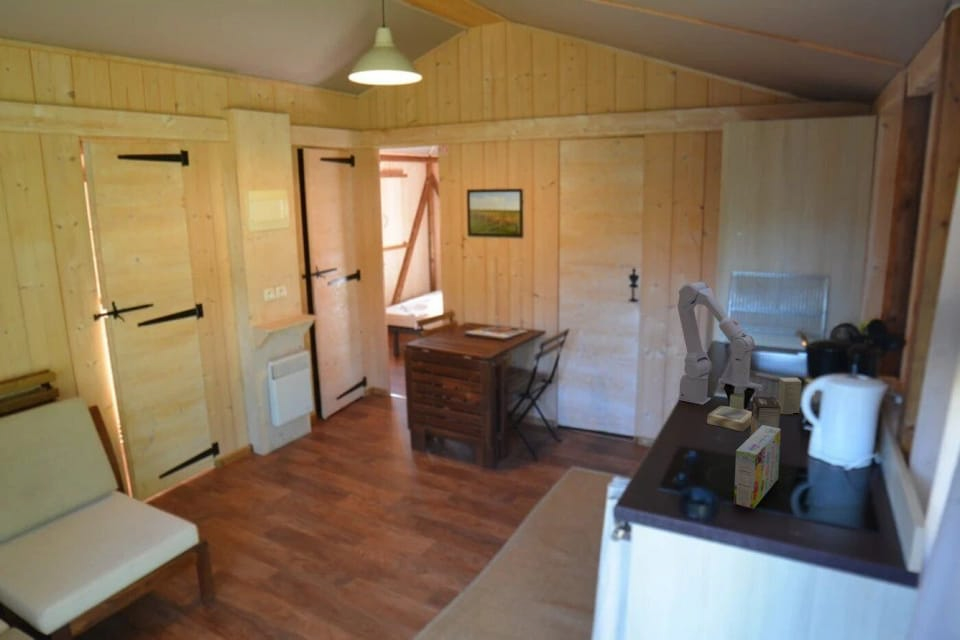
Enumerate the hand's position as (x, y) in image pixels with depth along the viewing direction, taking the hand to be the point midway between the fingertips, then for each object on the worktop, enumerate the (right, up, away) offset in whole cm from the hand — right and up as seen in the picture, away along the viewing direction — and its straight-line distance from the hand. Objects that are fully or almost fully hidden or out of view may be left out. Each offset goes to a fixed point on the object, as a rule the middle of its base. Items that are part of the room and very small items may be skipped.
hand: (738, 406), depth 232 cm
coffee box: (-6, -9, -33) cm, 35 cm away
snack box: (-18, -15, -58) cm, 62 cm away
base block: (-6, -4, -10) cm, 12 cm away
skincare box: (+17, -2, -2) cm, 17 cm away
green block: (0, -2, 0) cm, 2 cm away
